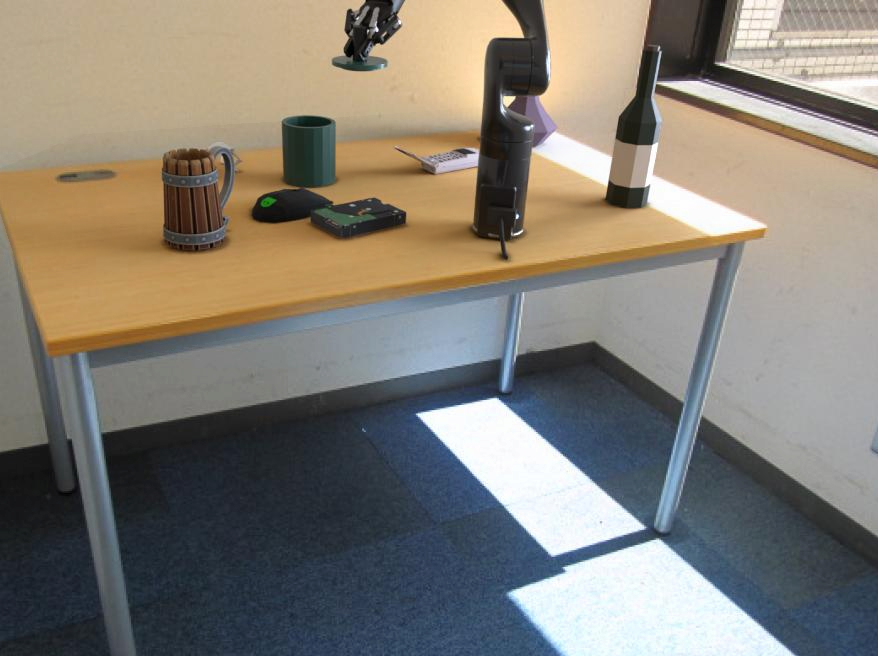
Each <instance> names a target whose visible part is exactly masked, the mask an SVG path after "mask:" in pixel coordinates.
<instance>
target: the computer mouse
mask: <svg viewBox="0 0 878 656" xmlns="http://www.w3.org/2000/svg"><path fill="white" fill-rule="evenodd" d="M255 201H256V202H255V203H254V205H253V207H252V209H251V217H252V220H254V221H257V222H259V223H265V224H266V223H267V224H280V223H281V224H282V223H289V222H294V221H300V220H304V219H305V220H306V219H308V218H310V210H314V209H319V208H323V207H329V206H333V205H334V201H333V200H330V199H328V198H327V197H325V196H324V195H321V194H319V193H317V192H314V191H312V190H310V189H307V188H306V187H298V188H282V189H279V190H274V191H269V192H267V193H264V194H262V195H260V196H258V197H257V199H256V200H255Z"/></svg>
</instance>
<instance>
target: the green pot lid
mask: <svg viewBox="0 0 878 656" xmlns="http://www.w3.org/2000/svg"><path fill="white" fill-rule="evenodd" d="M367 33H368V27H367V26H363V25H355V26H353V55H352V57H351V58H349V57H347V56H346V55H345V54H344V55H337V56H334V57H332V58H331V65H332V66H333V67H335V68H339V69H342V70H344V71H349V72H375V71H377V70H382V69H386V68H387V67H388V64H389V61H388V59H386V58H383V57H380V56H374V55H368V57H367V58H365V60H361V59H360V58H359V57H358V55H357V52H358V50H359V48H360V47H361V45H362V43H363V41H364V39H367Z"/></svg>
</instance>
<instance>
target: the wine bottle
mask: <svg viewBox="0 0 878 656" xmlns="http://www.w3.org/2000/svg"><path fill="white" fill-rule="evenodd" d="M662 52H663V51H662V50H661V46H660V45H658V44H646V45H645V48H644V49H642V54H641V61H640V66H639V72H638V78H637V85H636V90H635V95H634V97H632V99H631V101H629V103H628V104H627V105H626V107H625V108H624V110H622V112H621V113H620V114H619V116H618V118H617V119H618V120H617V125H616V130H615V132H616V133H615V137H614V144H613V150H612V156H611V161H610V167H609V173H608V174H609V175H608V180H607V187H606V193H605V199H604V200H605V201H606V202H607V203H608V204H609V205H612V206H616V207H619V208H624V209H641V208H643V207H645V206H646V205H647V204H648V199H649V195H650V188H651V183H652V178H653V173H654V167H655V162H656V157H657V151H658V147H659V146H658V145H659V140H660V136H661V131H662V124H663V118H662V116H661V113H660V110H659V108H658V105H657V103H656V102H657V101H656V100H655V98H654V97H655V90H656V85H657V79H658V75H659V69H660V63H661V57H662Z"/></svg>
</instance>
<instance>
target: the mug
mask: <svg viewBox="0 0 878 656" xmlns="http://www.w3.org/2000/svg"><path fill="white" fill-rule="evenodd" d="M221 155H222V156H223V158H222V160H223V162H224V163H223V164H224V176H223V182H222V187H221V189H220V188H219V182H218V181H219V175H220V173H219V172H218V167H217V166H216V160H217V158H218V157H219V156H221ZM235 169H236V166H235V158H234V155H233V154H232V153H231V151H230V150H229V149H227V148H225V147H221V146H214V147H212V148H211V149H210V150H209V151H208V152H207V150H206V149H204V148H195V147H191V148H189V149H188V150H187V148H183V147H182V148H178V149H171V150H168V152H167V151H166V152H165V153H163V156H162V168H161V181H162V183H163V185H162V186H163V224H162V236H163V238H164V242H165V244H166V245H167V246H169V247H170V248H172V249H174V250H177V251H182V252H203V251H204V252H205V251H209V250H213V249H217V248H218V247H220V246H221V245H222V244H223V243H224V242H225V241H226V238H227V237H226V235H227V230H226V227H227V226H228V224H229V222H230V215H226V214H223V211H224V209H225V207H226V205H227V203H228V202H229V199H230V196H231V194H232V192H233V189H234V184H235V178H236V177H235V175H236V170H235Z"/></svg>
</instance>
